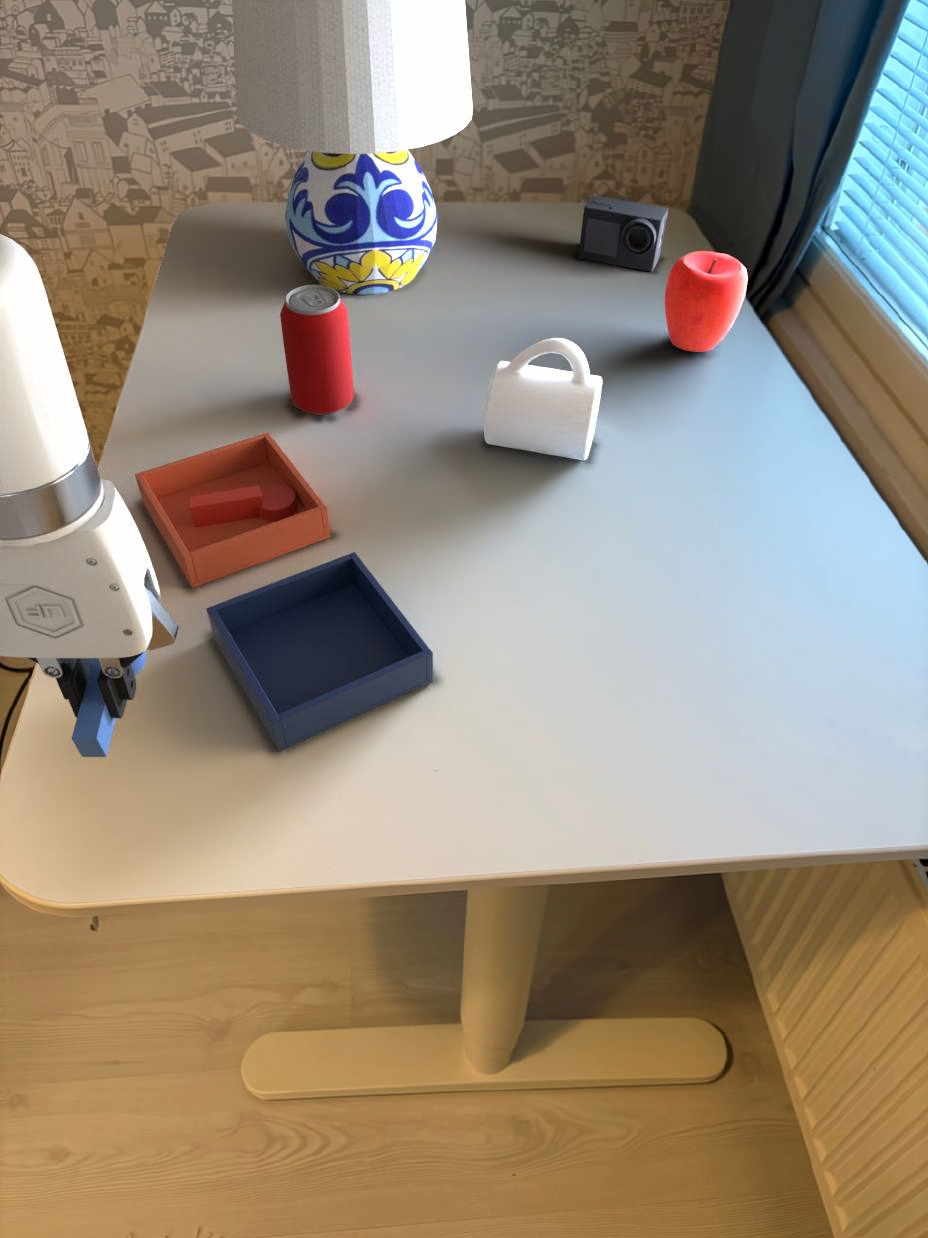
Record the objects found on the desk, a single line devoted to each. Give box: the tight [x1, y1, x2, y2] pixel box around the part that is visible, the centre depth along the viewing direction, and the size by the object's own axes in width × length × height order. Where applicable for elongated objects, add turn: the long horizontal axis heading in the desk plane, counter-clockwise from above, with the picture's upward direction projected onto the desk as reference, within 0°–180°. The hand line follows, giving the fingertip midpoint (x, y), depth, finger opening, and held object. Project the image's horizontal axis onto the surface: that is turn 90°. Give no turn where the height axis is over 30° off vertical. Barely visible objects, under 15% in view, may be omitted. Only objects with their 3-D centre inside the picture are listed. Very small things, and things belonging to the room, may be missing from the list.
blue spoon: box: [71, 650, 147, 758], centre depth 61 cm, size 10×4×2 cm, turn 2°
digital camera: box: [578, 194, 669, 273], centre depth 121 cm, size 10×5×7 cm, turn 70°
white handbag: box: [483, 337, 603, 461], centre depth 90 cm, size 8×10×12 cm
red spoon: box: [189, 484, 297, 527], centre depth 84 cm, size 10×4×2 cm, turn 107°
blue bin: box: [205, 551, 434, 752], centre depth 72 cm, size 13×13×4 cm
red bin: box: [134, 431, 331, 589], centre depth 84 cm, size 13×13×4 cm
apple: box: [664, 250, 749, 353], centre depth 104 cm, size 9×9×11 cm
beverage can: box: [279, 284, 355, 416], centre depth 94 cm, size 7×7×12 cm
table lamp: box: [231, 0, 474, 296], centre depth 105 cm, size 27×27×40 cm
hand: (104, 700), depth 61 cm, fingers closed on blue spoon, 1 cm apart
